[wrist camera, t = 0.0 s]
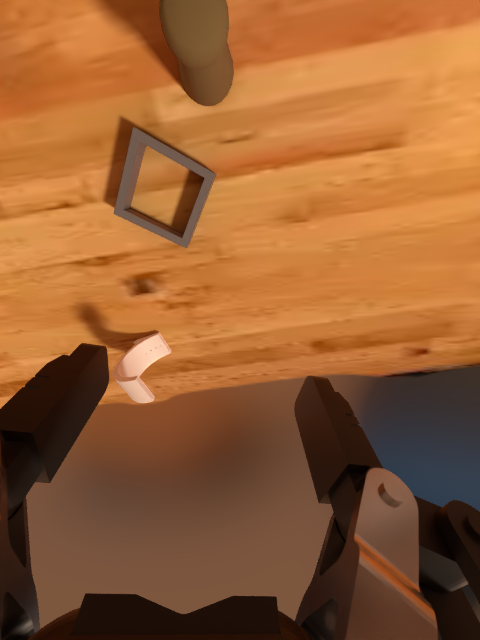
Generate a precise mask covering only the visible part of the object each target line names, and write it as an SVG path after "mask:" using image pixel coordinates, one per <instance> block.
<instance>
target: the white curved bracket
mask: <svg viewBox="0 0 480 640" xmlns="http://www.w3.org/2000/svg"><path fill="white" fill-rule="evenodd" d="M134 344H135V345H134V346H133V347H132V348H130V349H129V350H128V351H127V352H126V353H125V354H124V355H123V356H122V357H121V358H120V359H119V361H118V362H117V363H116V365H115V367H114V369H113V378H114V379H115V380H116V381H117V383H118V384H119V385H120V386H121V387H122V388H123V389H124V391H125V392H126V393H127V394H128V395H129V396H130V398H131V399H132V400H133V401H135V402H138V403H148V402H152V401H153V400H154V398H155V396H154V395H153V394H152V393H151V391H150V390H149V389H148V388H147V386H146V385H145V384H144V382H143V381H142V380H141V379H140V377H139V376H140V375H141V374H142V373H143V371H144V370H145V369H146V368H147V367H149V366H150V365H151V364H152V363H154V362H155V361H156V360H158V359H160V358H161V357H163V356H166V355H168V354H170V353H171V349H170V348H169V346H168V345H167V343H166V342H165V340H164V339H163V337H162V336H161V334H160V333H159V332H158V333H155V334H152V335H149V336H146V337H143V338H140V339H138V340H135V341H134Z"/></svg>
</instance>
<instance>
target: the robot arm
mask: <svg viewBox="0 0 480 640" xmlns="http://www.w3.org/2000/svg"><path fill="white" fill-rule="evenodd" d="M108 382H109V368H108V356H107V349H106V347H105V346H100V345H93V344H86V343H82V344H80V345H79V346H78V347H77V348H76V349H75V350H74V351H73V353H72V354H71V355H70V356H68V355H62V356H60V357H58V358H56V359H54V360H53V361H51V362H49V363H47V364H46V365H45V366H44V367H43V368H42V369H41V370H40V371H39V372H38V373H37V374H36V375H35V377H33V378H32V379H31V380H30V381H29V382H28V383H27V384H26V385H25V387H22V388H21V389H20V390H19V391H18V392H17V393H16V394H15V395H14V396H13V397H12V398H11V399H10V400H9V401H8V402H7V403H6V404H5V405H4V406H3V407H2V408H1V409H0V640H480V622H479V621H478V619H477V617H476V615H475V613H474V611H473V609H472V607H471V605H470V604H469V602H468V600H467V598H466V596H465V594H464V592H463V590H462V589H461V587H463V586H465V585H467V584H469V586H470V587H471V589H472V591H473V593H474V595H475V596H476V598H477V600H478V602H479V604H480V512H479V511H477V510H476V509H475V508H473V507H472V506H470V505H468V504H466V503H464V502H461V501H457V500H453V501H450V502H449V503H447V504H446V505H445V506H444V507H440V506H437V505H435V504H432V503H430V502H428V501H425V500H423V499H421V498H418V497H416V496H414V495H413V494H412V493H411V491H410V490H409V488H408V487H407V486H406V485H405V484H404V483H403V481H401V480H400V479H399V478H398V477H397V476H396V475H394V474H393V473H391V472H389V471H387V470H385V469H383V467H382V465H381V463H380V461H379V460H378V458H377V456H376V454H375V452H374V450H373V448H372V446H371V445H370V443H369V441H368V439H367V437H366V435H365V434H364V431H363V430H362V428H361V427H360V424H359V422H358V420H357V418H356V417H355V416H354V413H353V411H352V409H351V407H350V405H349V403H348V402H347V401H346V400H345V399H344V398H343V397H342V396H341V394H339V392H335V391H334V389H333V387H332V385H331V383H330V381H329V380H328V379H327V378H323V377H316V376H308V377H307V378H306V379H305V382H304V384H303V386H302V388H301V390H300V393H299V395H298V397H297V399H296V402H295V408H294V410H295V417H296V421H297V424H298V428H299V432H300V436H301V439H302V443H303V447H304V450H305V454H306V458H307V461H308V465H309V468H310V472H311V476H312V480H313V483H314V487H315V491H316V494H317V498H318V502H319V503H326V504H331V505H332V508H333V511H334V513H333V514H332V516H331V518H330V521H329V525H328V528H327V531H326V535H325V538H324V542H323V545H322V548H321V551H320V555H319V558H318V562H317V565H316V568H315V572H314V575H313V578H312V580H311V582H310V584H309V586H308V588H307V590H306V592H305V594H304V596H303V598H302V601H301V604H300V606H299V609H298V612H297V615H296V618H295V621H294V620H292V619H291V618H289V617H288V616H287V615H285V614H284V613H282V612H280V611H278V607H277V598H276V597H269V596H231V597H229V598H226V599H224V600H221V601H219V602H216V603H214V604H211V605H209V606H206V607H204V608H201V609H198V610H196V611H193V612H191V613H188V614H180V613H177V612H175V611H172V610H170V609H168V608H166V607H163V606H161V605H159V604H157V603H154V602H152V601H150V600H147V599H145V598H143V597H141V596H139V595H136V594H85V596H84V599H83V602H82V604H81V607H80V608H78V609H75V610H72V611H70V612H68V613H66V614H64V615H62V616H60V617H58V618H56V619H55V620H53V621H52V622H50V623H49V624H47V625H46V626H44V627H43V628H41V629H40V618H39V606H38V598H37V592H36V587H35V583H34V580H33V575H32V568H31V557H30V556H31V555H30V541H29V527H28V512H27V499H26V495H27V493H28V492H29V490H30V489H31V487H32V486H33V484H34V483H35V482H43V483H50V482H51V480H52V478H53V477H54V475H55V474H56V472H57V470H58V469H59V467H60V466H61V464H62V462H63V461H64V459H65V457H66V456H67V454H68V452H69V451H70V449H71V447H72V446H73V444H74V442H75V441H76V439H77V437H78V436H79V434H80V433H81V431H82V429H83V428H84V426H85V424H86V423H87V421H88V419H89V418H90V416H91V414H92V413H93V411H94V410H95V408H96V406H97V405H98V403H99V401H100V400H101V398H102V396H103V395H104V393H105V391H106V389H107V386H108Z"/></svg>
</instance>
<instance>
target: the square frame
mask: <svg viewBox="0 0 480 640" xmlns="http://www.w3.org/2000/svg"><path fill="white" fill-rule="evenodd" d="M146 145H147V146H149V147H151V148H152V149H154V150H156V151H158V152H159V153H161V154H163V155H165V156H167V157H168V158H170V159H172V160H174V161H175V162H177V163H179V164H181V165H182V166H184V167H186V168H188V169H190V170H191V171H193V172H195V173H197V174H198V175H200V176H202V177H204V181H203V184H202V186H201V189H200V192H199V195H198V197H197V200H196V203H195V205H194V208H193V211H192V213H191V216H190V219H189V221H188V224H187V227H186V230H185V232H184V235H183V234H181V233H179V232H177V231H175V230H173V229H171V228H169V227H167V226H165V225H163V224H161V223H159V222H157V221H155V220H153V219H151V218H149V217H147V216H145V215H143V214H141V213H138V212H136V211H134V210H132V209H130V206H131V202H132V198H133V194H134V190H135V186H136V182H137V178H138V174H139V170H140V166H141V162H142V159H143V155H144V151H145V147H146ZM215 177H216V174H215V173H213V172H211V171H210V170H208V169H206V168H204V167H203V166H201V165H199V164H198V163H196V162H194V161H192V160H191V159H189V158H187V157H185V156H184V155H182V154H180V153H178V152H177V151H175V150H173V149H171V148H170V147H168V146H166V145H165V144H163V143H161V142H159V141H158V140H156V139H154V138H152V137H151V136H149V135H147V134H145V133H144V132H142V131H140V130H138V129H137V128H135V127H133V130H132V135H131V139H130V144H129V148H128V152H127V157H126V161H125V166H124V170H123V174H122V179H121V183H120V188H119V192H118V196H117V201H116V205H115V210H114V214H115V215H118V216H120V217H122V218H124V219H126V220H128V221H130V222H132V223H134V224H136V225H139V226H141V227H143V228H145V229H147V230H149V231H151V232H153V233H155V234H157V235H160V236H162V237H164V238H166V239H168V240H170V241H172V242H174V243H176V244H178V245H180V246H183V247H185V248H187V247H188V246H189V244H190V241H191V238H192V236H193V233H194V231H195V228H196V226H197V223H198V220H199V218H200V215H201V213H202V210H203V208H204V205H205V203H206V200H207V197H208V195H209V192H210V190H211V187H212V185H213V182H214V179H215Z"/></svg>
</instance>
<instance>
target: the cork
mask: <svg viewBox="0 0 480 640" xmlns="http://www.w3.org/2000/svg"><path fill="white" fill-rule="evenodd" d="M159 13H160V20H161V26H162V31H163V33H164V36H165V38H166V41H167V44H168V46H169V48H170V49H171V50H172V52H173V53H174V55H175V56H176V58H177V61H178V68H179V74H180V79H181V82H182V85H183V87H184V89H185V91H186V92H187V94H188V95H189V97H190V98H191V99H193V100H194V101H195V102H196V103H198V104H201V105H204V106H214V105H216V104H218V103H220V102H221V101H222V100H223V99H224V98H225V97H226V96H227V94H228V92H229V90H230V88H231V86H232V80H233V75H234V72H233V61H232V57H231V54H230V51H229V47H228V44H227V37H228V30H229V17H228V6H227V2H226V0H160V7H159Z"/></svg>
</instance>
